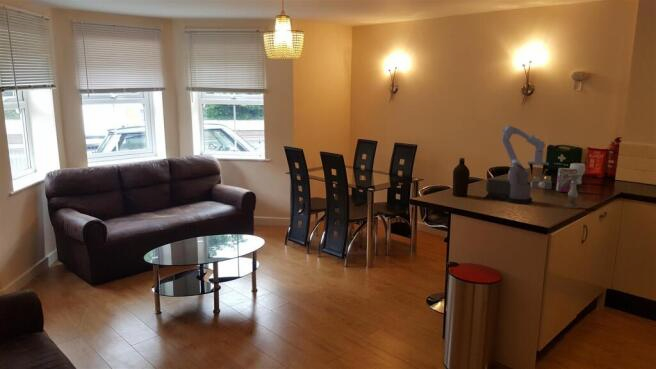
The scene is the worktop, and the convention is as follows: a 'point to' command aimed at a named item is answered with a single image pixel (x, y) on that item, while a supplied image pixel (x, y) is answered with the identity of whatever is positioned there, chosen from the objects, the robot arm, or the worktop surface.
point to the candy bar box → (564, 179)
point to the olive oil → (460, 179)
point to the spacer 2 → (547, 178)
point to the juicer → (511, 187)
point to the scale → (541, 184)
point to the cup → (578, 170)
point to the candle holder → (573, 192)
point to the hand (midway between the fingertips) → (537, 174)
